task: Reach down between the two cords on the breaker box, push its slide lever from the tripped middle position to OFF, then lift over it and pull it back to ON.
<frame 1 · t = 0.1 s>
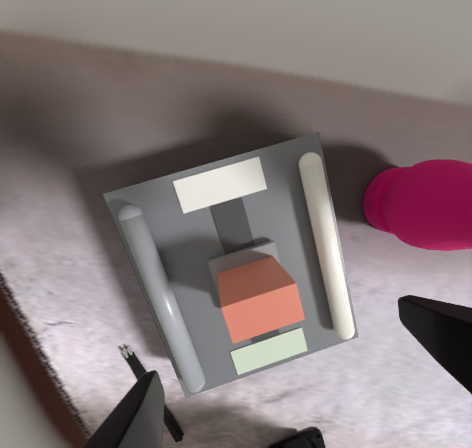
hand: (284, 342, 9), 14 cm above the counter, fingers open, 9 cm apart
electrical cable: (155, 389, 25), on the counter
pepper mill: (389, 199, 24), on the counter
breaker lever: (254, 291, 16), point 7 cm above the counter, slide at 0.0 cm
breaker box: (240, 258, 23), on the counter
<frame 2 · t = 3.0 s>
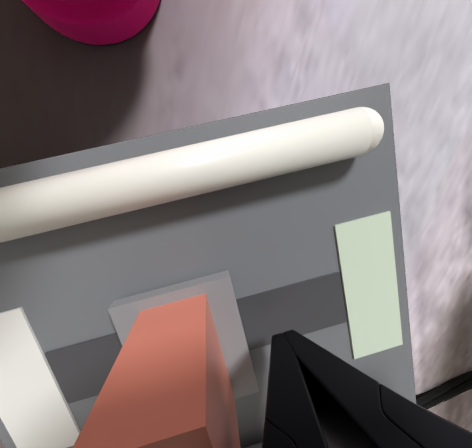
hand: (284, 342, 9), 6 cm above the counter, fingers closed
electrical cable: (396, 399, 18), on the counter
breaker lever: (184, 404, 7), point 7 cm above the counter, slide at 0.7 cm, touching gripper
breaker box: (206, 290, 14), on the counter
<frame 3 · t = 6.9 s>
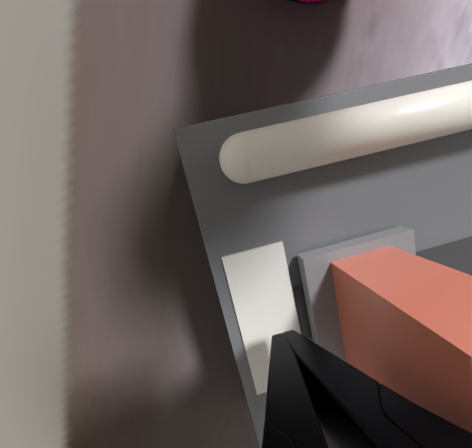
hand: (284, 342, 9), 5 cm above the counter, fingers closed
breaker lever: (412, 341, 7), point 7 cm above the counter, slide at 3.5 cm, touching gripper
breaker box: (368, 248, 14), on the counter
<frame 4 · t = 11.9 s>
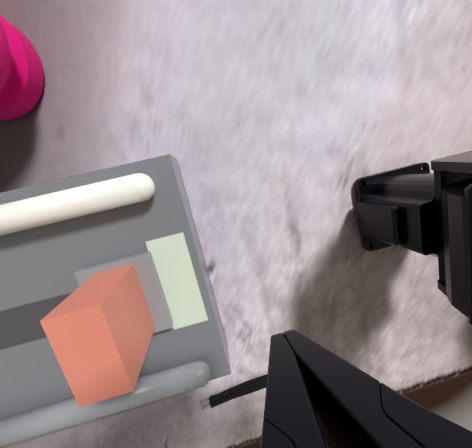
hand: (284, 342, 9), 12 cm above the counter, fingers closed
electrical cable: (261, 375, 24), on the counter
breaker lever: (112, 321, 13), point 7 cm above the counter, slide at -4.1 cm
breaker box: (93, 285, 19), on the counter
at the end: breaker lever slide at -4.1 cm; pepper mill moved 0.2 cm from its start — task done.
